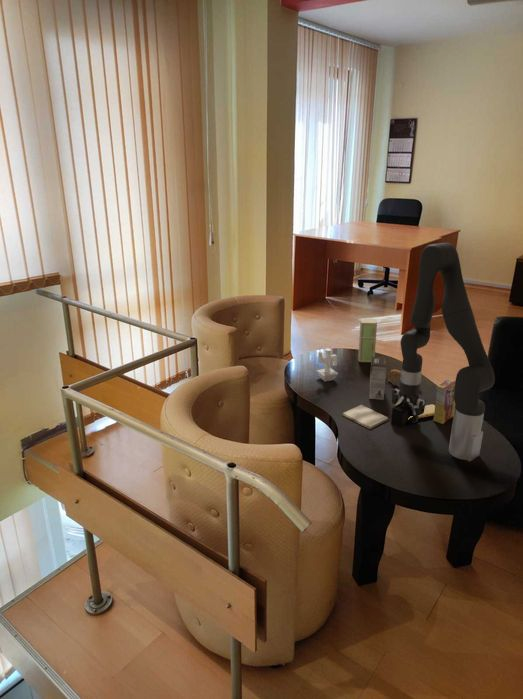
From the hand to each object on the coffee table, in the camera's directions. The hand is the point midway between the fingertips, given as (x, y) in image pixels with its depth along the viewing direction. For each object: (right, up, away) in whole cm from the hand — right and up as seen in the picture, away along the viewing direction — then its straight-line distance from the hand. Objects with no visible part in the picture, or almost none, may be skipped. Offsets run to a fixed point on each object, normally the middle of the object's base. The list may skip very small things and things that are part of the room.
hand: (406, 418), depth 196 cm
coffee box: (-7, +7, +22) cm, 24 cm away
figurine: (-26, +13, +37) cm, 47 cm away
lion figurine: (+7, +11, +32) cm, 34 cm away
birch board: (-15, 0, +3) cm, 16 cm away
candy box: (+15, -1, +2) cm, 15 cm away
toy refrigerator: (-4, +21, +57) cm, 61 cm away
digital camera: (-1, -1, +1) cm, 2 cm away
